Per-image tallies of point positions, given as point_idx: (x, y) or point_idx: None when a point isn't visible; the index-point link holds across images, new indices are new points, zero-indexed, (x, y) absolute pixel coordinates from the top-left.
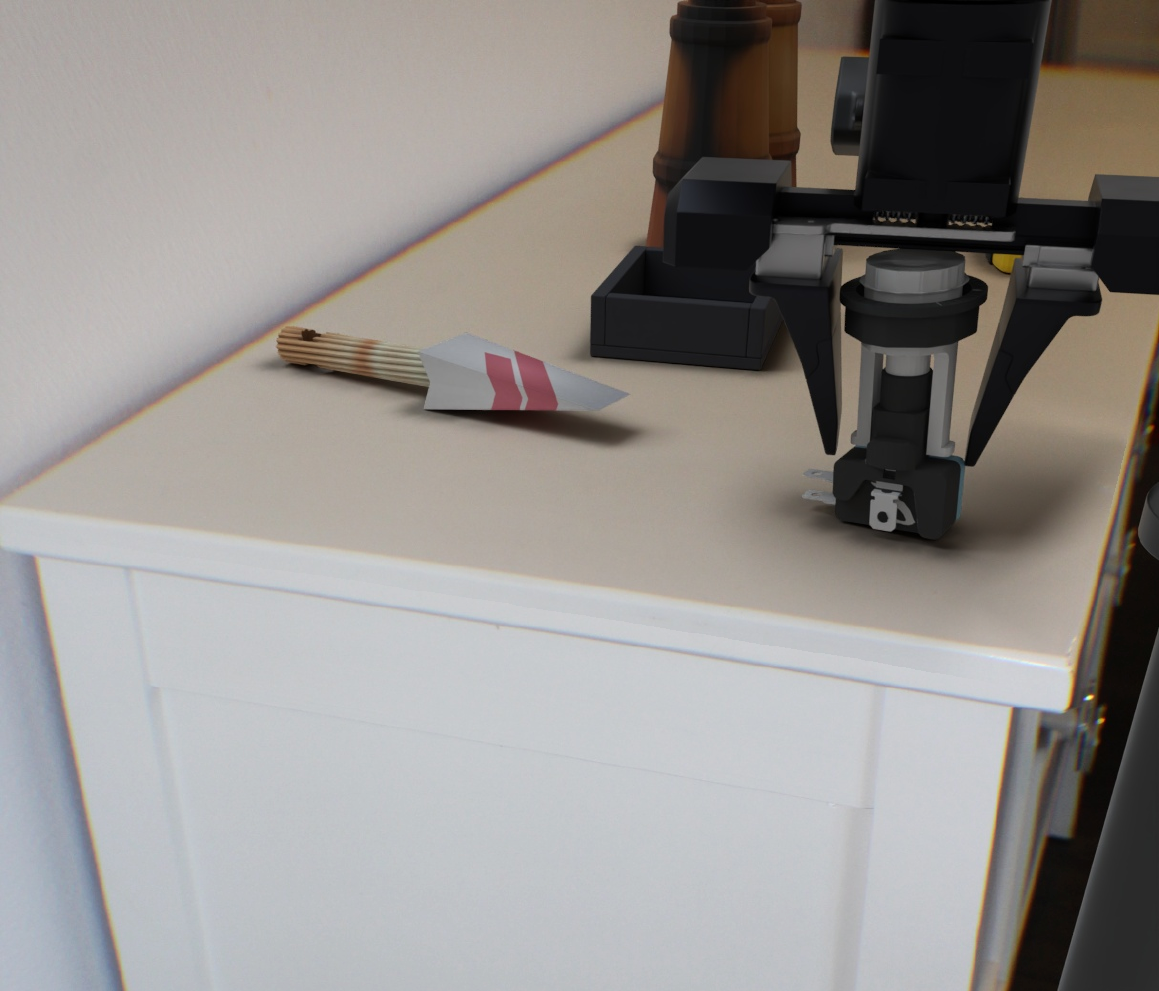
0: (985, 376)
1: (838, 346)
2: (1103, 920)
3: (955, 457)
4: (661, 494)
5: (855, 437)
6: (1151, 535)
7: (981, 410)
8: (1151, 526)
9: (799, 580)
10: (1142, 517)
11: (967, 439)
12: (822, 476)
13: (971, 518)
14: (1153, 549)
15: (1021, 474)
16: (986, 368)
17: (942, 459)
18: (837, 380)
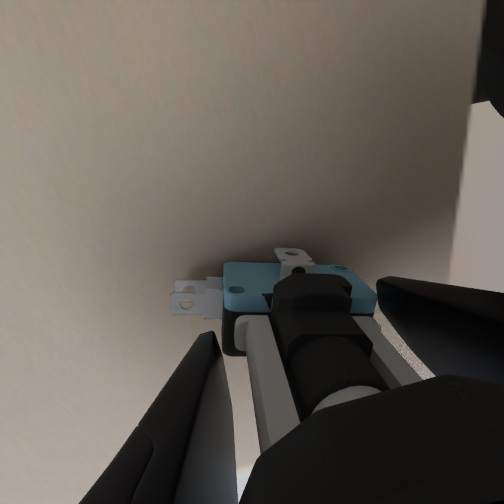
0: (484, 367)
1: (211, 499)
2: None
3: (369, 305)
4: (8, 337)
5: (244, 350)
6: (494, 71)
7: None
8: (500, 62)
9: (240, 418)
10: (492, 22)
11: (390, 291)
12: (197, 310)
13: (346, 217)
14: (487, 84)
15: (384, 34)
16: (491, 346)
17: (354, 313)
18: (227, 464)
